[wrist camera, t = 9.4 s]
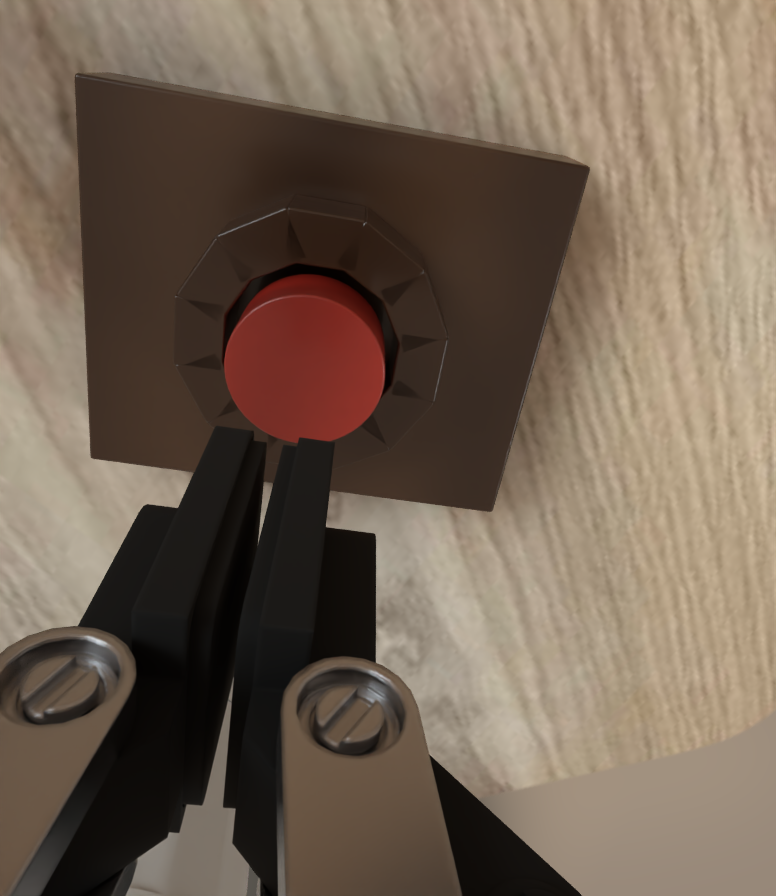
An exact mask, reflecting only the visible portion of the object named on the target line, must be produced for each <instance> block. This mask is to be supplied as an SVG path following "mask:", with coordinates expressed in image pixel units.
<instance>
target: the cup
mask: <svg viewBox="0 0 776 896" xmlns="http://www.w3.org/2000/svg"><path fill="white" fill-rule="evenodd" d="M233 680H234V677H233ZM232 692H233V682H232V686H231V690H230V694H229V699H228V703H227V707H226V711H225V715H224V720H223V724H222V728H221V732H220V737H219V741H218V745H217V749H216V754H215V758H214V762H213V766H212V770H211V775H210V779H209V783H208V787H207V792H206V796H205V799H204V803H203V805H202V806H199V805H188V804H187V806H186V810H185V813H184V817H183V821H182V825H181V829H180V833H171V832H169V834H168V838H166V839H165V840H163V841H162V842H160V843H159V844H158V845H156V846H155V847H153V848H152V849H150V850H149V851H147V852H146V853H144V854H143V855H142V856H140V857H139V858H138V863H137V866H136V870H135V873H134V877H133V880H132V883H131V885H130V887H129V889H128V892H127V894H126V896H247V884H248V874H249V864H248V863H247V862H246V860H245V859H244V858H243V857H242V855H241V854H240V853H239V851H238V850H237V849H236V848H235V846H234V845H233V844H232V839H233V829H234V819H235V809H232V808H223V798H224V786H225V774H226V763H227V751H228V739H229V727H230V716H231V704H232Z"/></svg>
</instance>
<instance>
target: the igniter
mask: <svg viewBox="0 0 776 896" xmlns="http://www.w3.org/2000/svg"><path fill="white" fill-rule="evenodd" d="M75 95H76V119H77V143H78V167H79V190H80V214H81V238H82V262H83V286H84V310H85V334H86V358H87V382H88V405H89V429H90V453H91V458H93V459H99V460H106V461H114V462H121V463H129V464H136V465H144V466H151V467H159V468H166V469H174V470H181V471H188V472H195V470H196V468H197V465H198V463H199V461H200V459H201V457H202V454H203V452H204V450H205V448H206V446H207V443H208V441H209V439H210V437H211V435H212V432H213V430H214V428H215V427H216V426H223V427H230V428H237V429H244V430H251V431H254V441H261V442H267V452H266V463H265V473H264V482H271V483H274V479H275V475H276V472H277V468H278V464H279V460H280V456H281V452H282V448H283V445H290V446H297V444H298V443H294V442H289V441H285V440H282V439H279V438H276V437H274V436H272V435H269V434H267V433H266V432H264V431H262V430H261V429H259V428H258V427H257V426H255V425H254V424H253V423H251V422H250V421H249V420H248V419H247V418H246V417H245V416H244V415H243V413H242V412H241V411H240V410H239V408H238V407H237V405H236V404H235V402H234V400H233V399H232V396H231V394H230V392H229V390H228V386H227V383H226V378H225V372H224V358H225V351H226V347H227V344H228V341H229V339H230V336H231V334H232V332H233V330H234V328H235V327H236V325H237V323H238V321H239V319H240V318H241V316H242V314H243V312H244V310H245V309H246V307H247V306H248V304H249V302H250V301H251V300H252V299H253V298H254V296H255V295H256V294H257V293H259V292H260V291H261V290H262V289H263V288H265V287H266V286H268V285H269V284H271V283H273V282H275V281H277V280H279V279H282V278H285V277H288V276H293V275H299V274H315V275H322V276H327V277H331V278H333V279H336V280H339V281H341V282H343V283H345V284H347V285H349V286H350V287H351V288H353V289H354V290H356V291H357V292H358V293H359V294H360V295H361V296H363V297H364V298H365V299H366V301H367V302H368V303H369V304H370V305H371V307H372V308H373V310H374V311H375V313H376V315H377V317H378V319H379V321H380V324H381V327H382V330H383V335H384V343H385V383H384V388H383V392H382V395H381V398H380V400H379V403H378V404H377V406H376V408H375V410H374V411H373V412H372V414H371V415H370V416H369V418H368V419H367V420H366V421H365V422H364V423H363V424H362V425H360V426H359V427H358V428H356V429H355V430H354V431H352V432H350V433H349V434H347V435H345V436H343V437H340V438H338V439H336V440H332V441H330V442H335V448H334V456H333V465H332V474H331V483H330V491H338V492H345V493H353V494H360V495H367V496H375V497H382V498H390V499H397V500H405V501H412V502H420V503H427V504H435V505H442V506H449V507H457V508H464V509H472V510H479V511H487V512H492V510H493V508H494V504H495V501H496V497H497V494H498V490H499V487H500V483H501V480H502V476H503V473H504V469H505V466H506V462H507V459H508V455H509V452H510V448H511V445H512V441H513V438H514V434H515V431H516V427H517V424H518V420H519V417H520V413H521V410H522V406H523V403H524V399H525V396H526V392H527V389H528V385H529V382H530V378H531V375H532V371H533V368H534V364H535V361H536V357H537V354H538V350H539V347H540V343H541V340H542V336H543V333H544V329H545V326H546V322H547V319H548V315H549V312H550V308H551V305H552V301H553V298H554V294H555V291H556V287H557V284H558V280H559V277H560V273H561V270H562V266H563V263H564V259H565V256H566V252H567V249H568V245H569V242H570V238H571V235H572V231H573V228H574V224H575V221H576V217H577V214H578V210H579V207H580V203H581V200H582V196H583V193H584V189H585V185H586V182H587V178H588V175H589V171H590V167H588V166H587V165H585V164H582V163H580V162H578V161H576V160H574V159H571V158H569V157H567V156H562V155H556V154H551V153H545V152H540V151H535V150H529V149H524V148H518V147H513V146H507V145H502V144H496V143H491V142H485V141H480V140H474V139H469V138H464V137H458V136H453V135H447V134H442V133H436V132H431V131H425V130H420V129H414V128H409V127H404V126H398V125H393V124H387V123H382V122H376V121H371V120H365V119H360V118H354V117H349V116H343V115H338V114H333V113H327V112H322V111H316V110H311V109H305V108H300V107H294V106H289V105H283V104H278V103H273V102H267V101H262V100H256V99H251V98H245V97H240V96H234V95H229V94H223V93H218V92H212V91H207V90H202V89H196V88H191V87H185V86H180V85H174V84H169V83H163V82H158V81H152V80H147V79H142V78H136V77H131V76H125V75H120V74H114V73H77V74H76V75H75Z"/></svg>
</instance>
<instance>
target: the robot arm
mask: <svg viewBox="0 0 776 896" xmlns="http://www.w3.org/2000/svg"><path fill="white" fill-rule="evenodd" d="M334 448H335V442H330V441H323V440H316V439H309V438H301V437H299V440H298V444H297V446H290V445H283V448H282V452H281V456H280V460H279V464H278V468H277V472H276V475H275V479H274V483H273V487H272V491H271V495H270V499H269V503H268V507H267V511H266V515H265V519H264V523H263V527H262V531H261V535H260V539H259V543H258V536H259V525H260V515H261V505H262V494H263V484H264V473H265V463H266V452H267V442H261V441H254V431H251V430H244V429H237V428H230V427H223V426H216V427H215V428H214V430H213V432H212V435H211V437H210V439H209V441H208V443H207V446H206V448H205V450H204V452H203V454H202V457H201V459H200V461H199V463H198V465H197V468H196V470H195V472H194V474H193V476H192V479H191V481H190V483H189V485H188V487H187V490H186V492H185V494H184V496H183V498H182V501H181V503H180V505H179V507H178V508H172V507H164V506H156V505H149V504H147V505H145V506H143V508H142V509H141V510H140V512H139V514H138V515H137V517H136V519H135V521H134V523H133V525H132V527H131V528H130V530H129V532H128V534H127V536H126V538H125V540H124V541H123V543H122V545H121V547H120V549H119V551H118V553H117V554H116V556H115V558H114V560H113V562H112V564H111V566H110V567H109V569H108V571H107V573H106V575H105V577H104V579H103V580H102V582H101V584H100V586H99V588H98V590H97V592H96V593H95V595H94V597H93V599H92V601H91V603H90V605H89V606H88V608H87V610H86V612H85V614H84V616H83V618H82V619H81V621H80V623H79V625H78V626H71V627H62V628H53V629H49V630H45V631H42V632H39V633H36V634H32V635H29V636H27V637H25V638H23V639H22V640H20V641H18V642H16V643H14V644H12V645H11V646H9V647H7V648H6V649H5V650H4V651H3V652H1V653H0V896H126V894H127V892H128V889H129V887H130V885H131V883H132V880H133V877H134V873H135V870H136V866H137V863H138V858H139V857H140V856H142V855H143V854H144V853H146V852H147V851H149V850H150V849H152V848H153V847H155V846H156V845H158V844H159V843H160V842H162V841H163V840H165V839H166V838H168V834H169V832H171V833H180V829H181V825H182V821H183V817H184V813H185V810H186V806H187V804H188V805H199V806H202V805H203V803H204V799H205V796H206V792H207V787H208V783H209V779H210V775H211V770H212V766H213V762H214V758H215V754H216V749H217V745H218V741H219V737H220V732H221V728H222V724H223V720H224V715H225V711H226V707H227V703H228V699H229V694H230V690H231V686H232V682H233V692H232V704H231V716H230V727H229V739H228V751H227V763H226V774H225V786H224V798H223V808H232V809H235V819H234V829H233V839H232V844H233V845H234V846H235V848H236V849H237V850H238V851H239V853H240V854H241V855H242V857H243V858H244V859H245V860H246V862H247V863H248V864H249V866H250V867H251V868H252V870H253V871H254V872H255V873H256V875H257V876H258V884H257V896H581V894H580V893H579V892H578V891H577V890H576V889H575V888H574V887H573V886H571V885H570V884H569V883H568V882H567V881H566V880H565V879H564V878H563V877H562V876H561V875H559V874H558V873H557V872H556V871H555V870H554V869H553V868H552V867H551V866H550V865H549V864H548V863H546V862H545V861H544V860H543V859H542V858H541V857H540V856H539V855H538V854H537V853H536V852H534V851H533V850H532V849H531V848H530V847H529V846H528V845H527V844H526V843H525V842H524V841H522V840H521V839H520V838H519V837H518V836H517V835H516V834H515V833H514V832H513V831H512V830H511V829H510V828H508V827H507V826H506V825H505V824H504V823H503V822H502V821H501V820H500V819H499V818H498V817H496V816H495V815H494V814H493V813H492V812H491V811H490V810H489V809H488V808H487V807H486V806H484V805H483V804H482V803H481V802H480V801H479V800H478V799H477V798H476V797H475V796H474V795H473V794H472V793H470V792H469V791H468V790H467V789H466V788H465V787H464V786H463V785H462V784H461V783H460V782H458V781H457V780H456V779H455V778H454V777H453V776H452V775H451V774H450V773H449V772H448V771H447V770H445V769H444V768H443V767H442V766H441V765H440V764H439V763H438V762H437V761H436V760H435V759H434V758H432V757H431V756H430V755H429V751H428V747H427V743H426V739H425V734H424V730H423V726H422V722H421V717H420V713H419V709H418V706H417V704H416V701H415V699H414V696H413V694H412V692H411V690H410V689H409V688H408V687H407V685H406V684H405V683H404V682H403V681H402V680H401V678H400V677H399V676H397V675H396V674H394V673H393V672H391V671H390V670H389V669H387V668H386V667H384V666H383V665H380V664H377V663H376V536H375V534H374V533H366V532H358V531H351V530H343V529H335V528H327V527H326V518H327V510H328V501H329V492H330V483H331V474H332V465H333V456H334ZM257 546H258V547H257ZM233 677H234V680H233Z"/></svg>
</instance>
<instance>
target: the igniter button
mask: <svg viewBox="0 0 776 896" xmlns="http://www.w3.org/2000/svg"><path fill="white" fill-rule="evenodd" d="M224 372H225V378H226V383H227V386H228V390H229V392H230V394H231V396H232V399H233V400H234V402H235V404H236V405H237V407H238V408H239V410H240V411H241V412H242V413H243V415H244V416H245V417H246V418H247V419H248V420H249V421H250V422H251V423H253V424H254V425H255V426H257V427H258V428H259V429H261V430H262V431H264V432H266V433H267V434H269V435H272V436H274V437H276V438H279V439H282V440H285V441H289V442H294V443H298V440H299V437H301V438H309V439H316V440H323V441H332V440H336V439H338V438H340V437H343V436H345V435H347V434H349V433H350V432H352V431H354V430H355V429H356V428H358V427H359V426H360V425H362V424H363V423H364V422H365V421H366V420H367V419H368V418H369V416H370V415H371V414H372V412H373V411H374V410H375V408H376V406H377V404H378V403H379V400H380V398H381V395H382V392H383V388H384V383H385V343H384V335H383V330H382V327H381V324H380V321H379V319H378V317H377V315H376V313H375V311H374V310H373V308H372V307H371V305H370V304H369V303H368V302H367V301H366V299H365V298H364V297H363V296H361V295H360V294H359V293H358V292H357V291H356V290H354V289H353V288H351V287H350V286H349V285H347V284H345V283H343V282H341V281H339V280H336V279H333V278H331V277H327V276H322V275H315V274H299V275H293V276H288V277H285V278H282V279H279V280H277V281H275V282H273V283H271V284H269V285H268V286H266V287H265V288H263V289H262V290H261V291H260V292H259V293H257V294H256V295H255V296H254V298H253V299H252V300H251V301H250V302H249V304H248V306H247V307H246V309H245V310H244V312H243V314H242V316H241V318H240V319H239V321H238V323H237V325H236V327H235V328H234V330H233V332H232V334H231V336H230V339H229V341H228V344H227V347H226V351H225V358H224Z"/></svg>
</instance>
